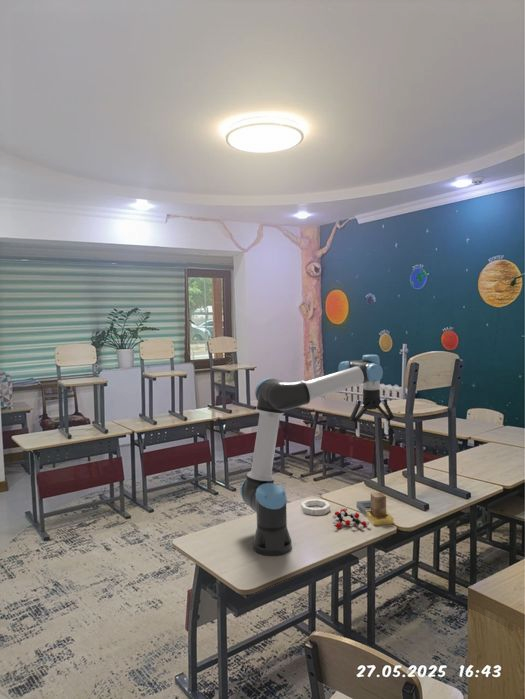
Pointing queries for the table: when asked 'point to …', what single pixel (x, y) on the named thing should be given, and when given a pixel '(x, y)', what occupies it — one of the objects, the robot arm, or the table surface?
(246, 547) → the table surface
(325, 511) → the white ring
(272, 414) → the robot arm
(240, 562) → the table surface
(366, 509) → the yellow grey tray
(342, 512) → the molecular model
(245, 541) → the table surface
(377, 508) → the walnut peg
